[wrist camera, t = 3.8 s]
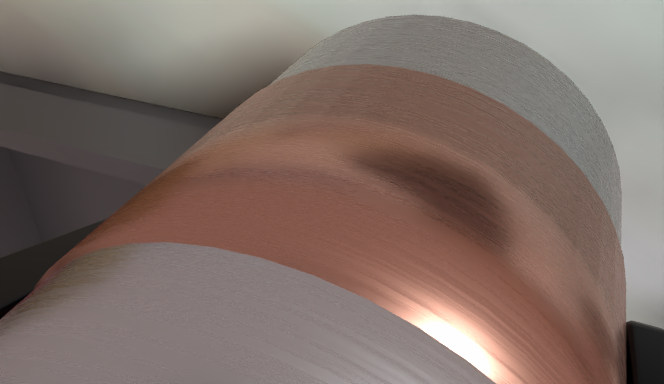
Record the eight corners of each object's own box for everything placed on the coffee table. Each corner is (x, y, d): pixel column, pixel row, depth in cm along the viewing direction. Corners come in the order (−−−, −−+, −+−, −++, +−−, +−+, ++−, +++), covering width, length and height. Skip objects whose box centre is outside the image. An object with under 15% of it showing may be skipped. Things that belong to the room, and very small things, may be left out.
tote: (292, 364, 28) (257, 427, 26) (-39, 251, 34) (-95, 292, 32) (279, 131, 21) (227, 185, 18) (-141, 41, 27) (-224, 72, 24)
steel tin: (571, 368, 10) (513, 1027, 5) (268, 280, 12) (-21, 692, 7) (687, 44, 7) (901, 965, 2) (247, -13, 9) (-368, 333, 3)
